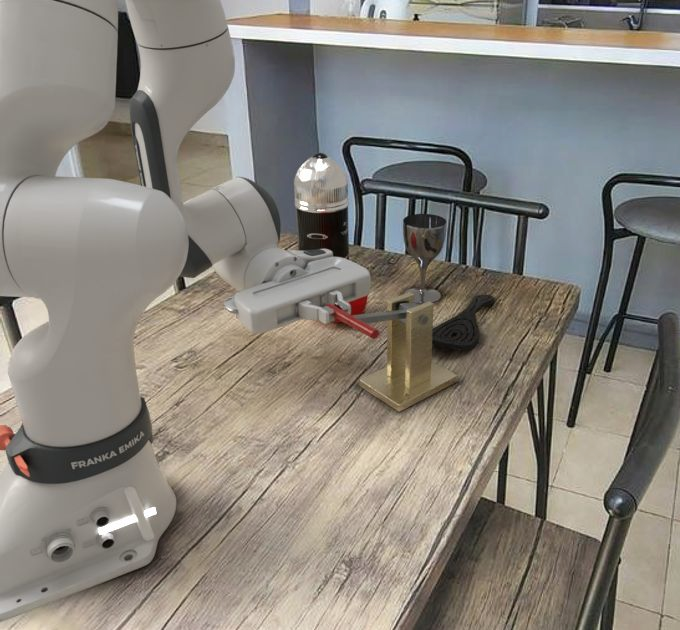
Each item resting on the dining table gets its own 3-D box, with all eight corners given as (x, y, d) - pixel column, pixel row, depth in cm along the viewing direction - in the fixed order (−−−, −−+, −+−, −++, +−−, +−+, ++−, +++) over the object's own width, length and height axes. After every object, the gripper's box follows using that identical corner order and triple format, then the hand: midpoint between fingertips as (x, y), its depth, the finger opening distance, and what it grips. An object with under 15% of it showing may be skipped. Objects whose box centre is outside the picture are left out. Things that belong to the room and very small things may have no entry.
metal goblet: (395, 290, 132) (396, 216, 125) (431, 284, 135) (434, 211, 128) (411, 307, 126) (413, 230, 119) (450, 300, 129) (454, 225, 122)
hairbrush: (511, 289, 127) (461, 342, 106) (509, 307, 129) (460, 363, 108) (470, 281, 130) (413, 330, 109) (468, 298, 132) (412, 350, 111)
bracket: (399, 412, 96) (400, 326, 90) (358, 386, 102) (357, 303, 96) (457, 381, 104) (462, 300, 97) (417, 358, 109) (419, 280, 103)
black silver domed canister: (354, 268, 141) (352, 147, 130) (344, 289, 132) (341, 161, 120) (305, 265, 142) (299, 144, 130) (292, 285, 133) (284, 158, 121)
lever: (370, 343, 86) (373, 326, 85) (322, 316, 93) (325, 299, 92) (440, 332, 95) (443, 316, 95) (392, 308, 102) (395, 293, 101)
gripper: (214, 281, 92) (270, 317, 83) (335, 245, 105) (395, 273, 96) (219, 322, 95) (274, 361, 86) (336, 282, 108) (394, 313, 99)
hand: (338, 314), depth 91 cm, fingers closed on lever
